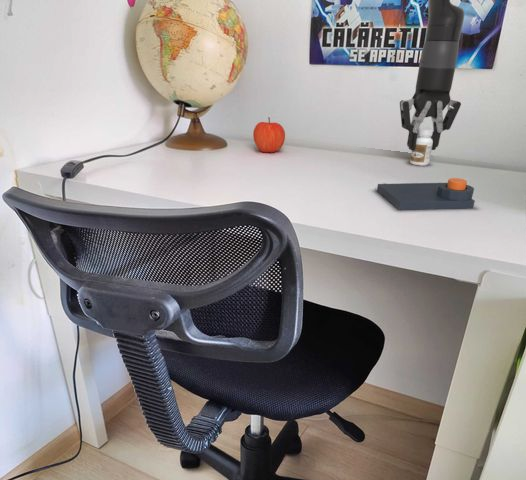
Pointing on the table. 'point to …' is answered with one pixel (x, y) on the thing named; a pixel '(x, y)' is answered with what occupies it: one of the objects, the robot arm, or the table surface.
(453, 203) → the grey button base
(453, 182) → the button
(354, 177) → the table surface
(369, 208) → the table surface
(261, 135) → the apple
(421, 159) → the pill bottle
